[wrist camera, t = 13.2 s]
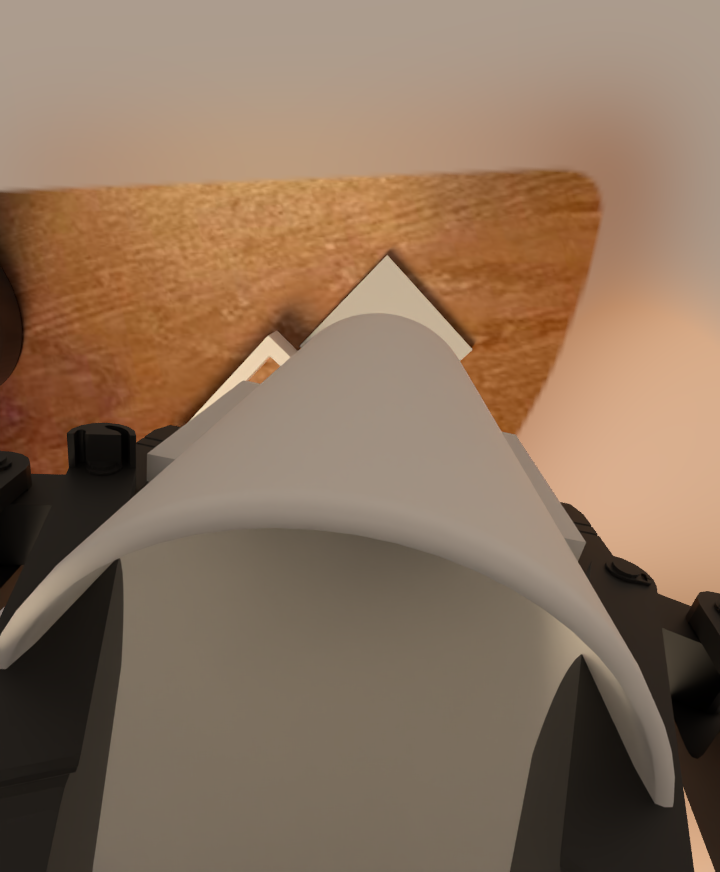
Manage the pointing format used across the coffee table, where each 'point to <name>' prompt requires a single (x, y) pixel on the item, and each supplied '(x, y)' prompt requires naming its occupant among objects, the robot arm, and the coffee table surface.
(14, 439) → the coffee table surface
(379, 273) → the pad
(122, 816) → the cup
